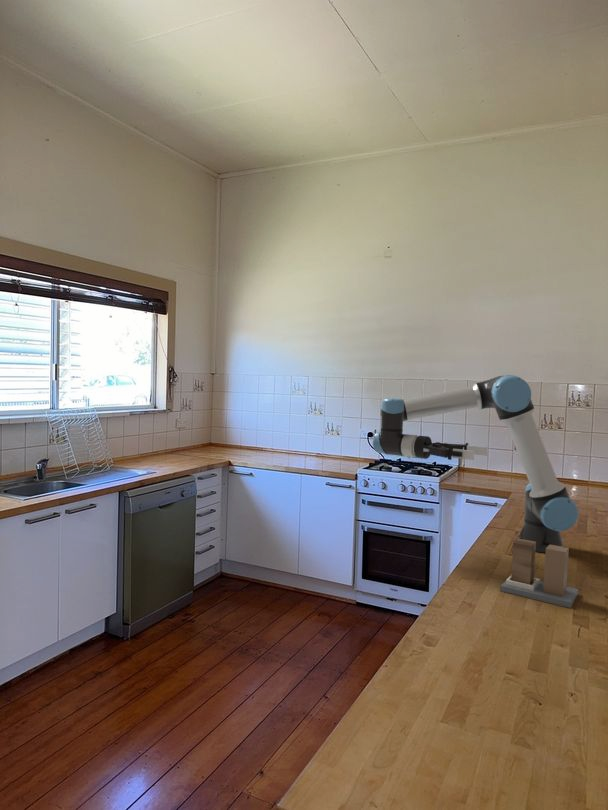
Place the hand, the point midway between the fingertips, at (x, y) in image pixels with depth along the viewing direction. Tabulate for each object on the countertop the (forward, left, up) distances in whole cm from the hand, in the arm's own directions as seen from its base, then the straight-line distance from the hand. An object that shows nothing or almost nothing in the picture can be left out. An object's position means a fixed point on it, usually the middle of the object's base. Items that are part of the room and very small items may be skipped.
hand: (480, 453), depth 176 cm
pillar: (+6, +19, -35) cm, 40 cm away
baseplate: (+5, +24, -36) cm, 43 cm away
